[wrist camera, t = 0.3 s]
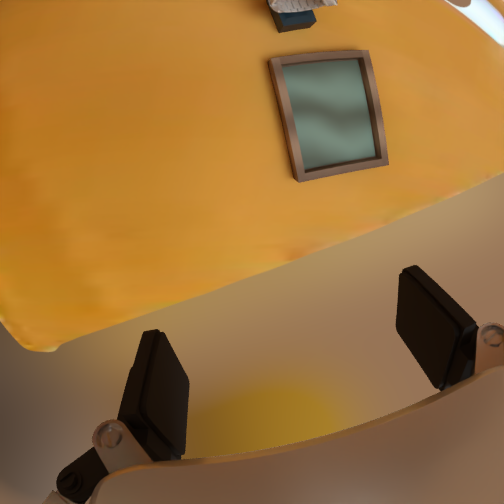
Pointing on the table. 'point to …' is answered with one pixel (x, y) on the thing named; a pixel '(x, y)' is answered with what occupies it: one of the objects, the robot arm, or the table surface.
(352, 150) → the watch tray
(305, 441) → the robot arm
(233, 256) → the table surface
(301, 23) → the watch
